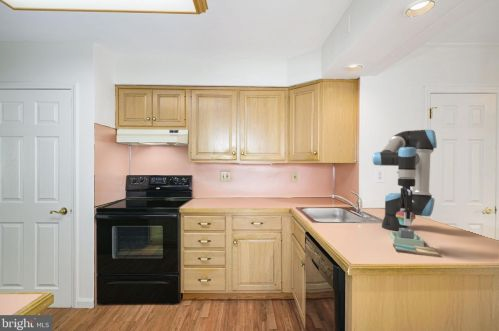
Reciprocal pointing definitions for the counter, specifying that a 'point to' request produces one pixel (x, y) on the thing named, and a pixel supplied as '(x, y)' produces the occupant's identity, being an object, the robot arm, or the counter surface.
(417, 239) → the tray
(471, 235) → the counter surface
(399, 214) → the cupcake
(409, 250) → the board
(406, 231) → the die
